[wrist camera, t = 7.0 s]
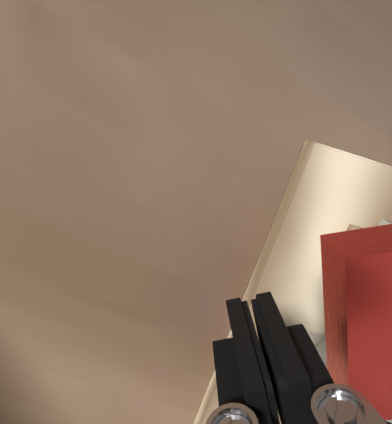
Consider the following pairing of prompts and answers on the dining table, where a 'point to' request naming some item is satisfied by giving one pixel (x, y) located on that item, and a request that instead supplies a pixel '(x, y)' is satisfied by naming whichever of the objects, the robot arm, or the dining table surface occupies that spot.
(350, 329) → the lever
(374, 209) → the valve board
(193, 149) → the dining table surface
